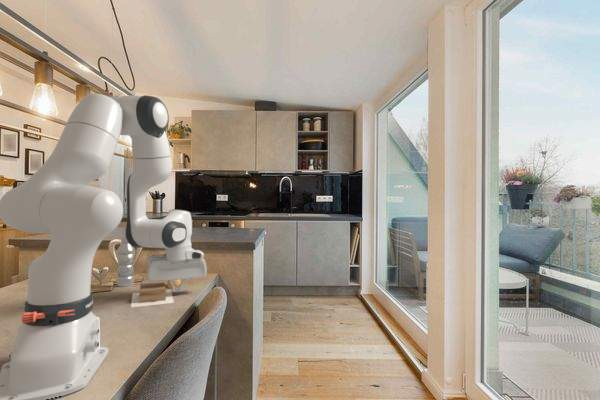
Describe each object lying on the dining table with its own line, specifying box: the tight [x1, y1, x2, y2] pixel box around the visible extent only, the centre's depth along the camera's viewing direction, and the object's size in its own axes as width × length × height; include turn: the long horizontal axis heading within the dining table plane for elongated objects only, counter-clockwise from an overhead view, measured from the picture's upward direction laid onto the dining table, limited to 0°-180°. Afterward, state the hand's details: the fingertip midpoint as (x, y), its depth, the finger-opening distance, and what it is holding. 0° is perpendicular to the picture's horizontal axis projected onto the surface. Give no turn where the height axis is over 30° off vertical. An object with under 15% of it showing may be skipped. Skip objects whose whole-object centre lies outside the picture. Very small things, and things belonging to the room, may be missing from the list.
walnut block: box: [139, 281, 167, 303], centre depth 111 cm, size 9×8×4 cm
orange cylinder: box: [166, 279, 181, 290], centre depth 125 cm, size 5×5×6 cm
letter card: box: [130, 289, 175, 308], centre depth 111 cm, size 16×13×1 cm
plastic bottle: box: [115, 236, 136, 288], centre depth 125 cm, size 6×7×20 cm
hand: (177, 291), depth 114 cm, fingers closed
